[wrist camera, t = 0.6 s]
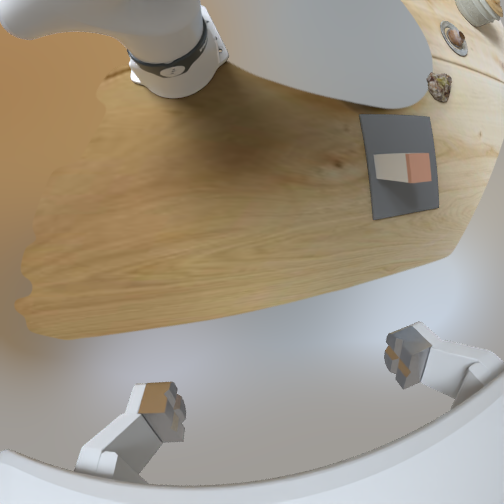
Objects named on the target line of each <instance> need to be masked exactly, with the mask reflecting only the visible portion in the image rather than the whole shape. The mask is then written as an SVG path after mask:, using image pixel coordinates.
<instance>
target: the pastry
mask: <svg viewBox="0 0 504 504" xmlns="http://www.w3.org/2000/svg"><path fill="white" fill-rule="evenodd" d="M445 28H450V29H449V30H448V31H447V35H448V38H449V40H450V41H451V43H452V44H453V45H455V46H457V47H461V46H462V49H461V50H457V49H456V48H454V47H453V46H452V45H451V44H450V42H449V41H448V39H447V38H446V35H445V32H444V30H445ZM441 31H442V34H443V36H444V38H445V40H446V42H447V44H448V45H449V46H450V47H451V48H452V49H453V50H454V51H455V52H456V53H458V54H459V55H461V56H465V55H466V54H467V51H468V49H467V44H466V41H465V37H464V35H463V34H462V32H459V30H458V29H457V28H456V27H455V26H454V25H453V24H451V23H449V22H448V21H442V22H441Z"/></svg>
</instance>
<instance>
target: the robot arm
mask: <svg viewBox="0 0 504 504" xmlns="http://www.w3.org/2000/svg"><path fill="white" fill-rule="evenodd" d="M0 22H1V24H2V26H3V27H4V29H5V30H6V31H7V32H9V33H10V34H11V35H13V36H15V37H18V38H21V39H26V40H33V39H36V38H39V37H42V36H46V35H50V34H55V33H61V32H73V31H80V32H92V33H99V34H103V35H107V36H111V37H114V38H116V39H117V40H118V41H120V42H121V43H122V44H123V45H124V46H125V47H126V48H127V52H128V54H129V57H130V58H131V60H130V62H129V66H130V68H131V80H132V81H133V82H134V83H137V84H141V85H144V86H146V87H147V88H148V89H149V90H150V91H152V92H153V93H155V94H156V95H159V96H161V97H165V98H181V97H185V96H189V95H191V94H194V93H196V92H197V91H199V90H200V89H202V88H203V87H204V86H205V85H207V84H208V82H209V81H210V80H211V79H212V77H213V75H214V74H215V72H216V70H217V68H218V67H219V66H221V65H222V64H223V63H224V62H226V61H227V59H228V58H229V55H228V51H227V50H226V47H225V45H224V43H223V41H222V39H221V37H220V35H219V33H218V31H217V29H216V27H215V25H214V23H213V21H212V19H211V17H210V15H209V13H208V11H207V10H206V8H205V7H204V6H201V4H200V0H0ZM219 50H222V52H219ZM386 343H387V344H388V345H389V346H388V347H387V349H386V350H385V355H384V359H385V364H386V366H387V368H388V370H389V371H390V372H392V373H394V374H396V380H397V382H398V383H399V385H400V386H401V387H402V389H406V388H408V387H410V386H413V385H415V384H417V383H419V382H421V383H422V384H424V385H426V386H428V387H430V388H433V389H435V390H437V391H439V392H441V393H443V394H446V395H448V396H450V397H452V398H454V399H455V401H454V403H453V405H452V407H451V410H450V411H448V412H446V413H445V414H443V415H442V416H440V417H438V418H436V419H435V420H433V421H431V422H430V423H428V424H426V425H424V426H423V427H420V428H418V429H417V430H415V431H413V432H411V433H409V434H407V435H405V436H403V437H401V438H398V439H396V440H394V441H392V442H390V443H387V444H385V445H383V446H380V447H378V448H376V449H373V450H371V451H368V452H366V453H363V454H360V455H357V456H355V457H352V458H349V459H346V460H343V461H340V462H337V463H334V464H330V465H327V466H324V467H320V468H317V469H313V470H309V471H305V472H300V473H296V474H292V475H287V476H282V477H277V478H272V479H265V480H259V481H251V482H243V483H233V484H222V485H200V486H177V485H175V486H174V485H154V484H148V483H147V482H146V481H145V480H144V479H143V478H142V477H141V476H140V475H139V473H140V472H141V471H142V470H143V468H144V467H145V466H146V464H147V463H148V462H149V461H150V459H151V458H152V457H153V455H154V454H155V453H156V452H157V450H158V449H159V448H160V446H161V445H162V443H163V442H183V441H184V431H185V428H184V426H183V424H182V422H183V421H184V420H185V419H186V408H185V404H184V401H183V399H182V397H181V396H180V395H178V394H177V387H176V385H175V383H174V382H159V383H144V384H143V383H142V384H141V383H137V384H135V385H134V387H133V390H132V393H131V396H130V399H129V402H128V405H127V408H126V411H125V414H121V415H120V416H119V417H117V418H116V419H115V420H114V421H113V422H111V423H110V424H109V425H108V426H107V427H105V428H104V429H103V430H102V431H101V432H99V433H98V434H97V435H96V436H95V437H93V438H92V439H91V440H90V441H89V442H87V443H86V444H85V445H84V446H83V447H82V449H81V452H80V455H79V458H78V461H77V464H76V467H75V470H74V471H71V470H67V469H64V468H60V467H57V466H53V465H51V464H47V463H44V462H41V461H39V460H36V459H33V458H30V457H28V456H26V455H23V454H21V453H18V452H16V451H13V450H10V449H6V450H4V451H1V452H0V504H504V362H503V361H502V360H501V359H500V358H499V357H498V356H497V355H495V354H494V353H493V352H492V351H490V350H485V349H481V348H477V347H472V346H468V345H464V344H460V343H456V342H452V341H448V340H445V341H442V340H441V339H440V338H439V337H438V336H436V334H434V333H433V332H432V331H431V330H430V329H429V328H428V327H427V326H426V325H424V324H423V323H422V322H416V323H414V324H412V325H409V326H407V327H405V328H402V329H400V330H397V331H394V332H392V333H389V334H388V336H387V340H386Z"/></svg>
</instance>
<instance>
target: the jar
mask: <svg viewBox="0 0 504 504" xmlns="http://www.w3.org/2000/svg"><path fill="white" fill-rule="evenodd" d="M455 3H456V5H457V7H458V9H459V11H460V12H461V13H462V15H463V16H464V17H465V18H466V19H467V21H469V22H470V23H471V24H472V25H474V26H476V27H478V26H482V25H484V24H487V23H490V22H494V20H498V21H499V20H500V17H503V13H502V8H501V6H500V0H455Z"/></svg>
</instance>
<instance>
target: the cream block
mask: <svg viewBox="0 0 504 504" xmlns="http://www.w3.org/2000/svg"><path fill="white" fill-rule="evenodd" d="M374 162H375V169H376V178H377V179H383V180H391V181H399V182H406V183H418V182H427V181H432V180H431V168H430V159H429V153H391V154H376V155H374Z"/></svg>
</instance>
